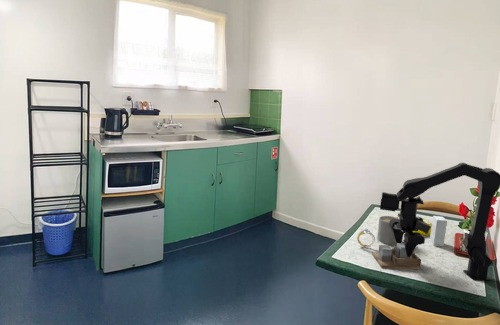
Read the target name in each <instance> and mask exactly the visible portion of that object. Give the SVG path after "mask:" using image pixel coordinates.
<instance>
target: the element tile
mask: <svg viewBox="0 0 500 325" xmlns="http://www.w3.org/2000/svg"><path fill="white" fill-rule="evenodd" d="M396 217H397V218H399V217H398V216H396ZM421 218H422V219H423V222H425V223H427V224H428V225H430V226H431V228H432V222H430V221H429V220H427V219H425V218H423V217H421ZM431 228H430V230H429V232H428V234H426V233H425V232H422V231H420V230H418V231H413V232H417V233H420V234H421V235H422V236H430V235H431Z"/></svg>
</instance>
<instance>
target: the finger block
mask: <svg viewBox="0 0 500 325" xmlns="http://www.w3.org/2000/svg"><path fill="white" fill-rule="evenodd" d="M395 256H396V258H407V259H410V257H411V256H410V257H407V254H406V250H405V245H404V242H402V243H397V245H395Z"/></svg>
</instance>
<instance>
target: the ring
mask: <svg viewBox="0 0 500 325" xmlns="http://www.w3.org/2000/svg"><path fill="white" fill-rule="evenodd" d="M365 234H369V235H370V236H371V237H372V242H371V244H363V243H362V242H361V240H360V236H363V235H365ZM356 239H357V242H358V244H359V245H360V246H362V248H365V247H366V248H370V247H372V246H373V245H374V243H375V241H376V239H375V235H374V234H373V233H372V232H371V230H369V229H368V228H365V229H361V231H360V232H359V233H358V234H357V237H356Z"/></svg>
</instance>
